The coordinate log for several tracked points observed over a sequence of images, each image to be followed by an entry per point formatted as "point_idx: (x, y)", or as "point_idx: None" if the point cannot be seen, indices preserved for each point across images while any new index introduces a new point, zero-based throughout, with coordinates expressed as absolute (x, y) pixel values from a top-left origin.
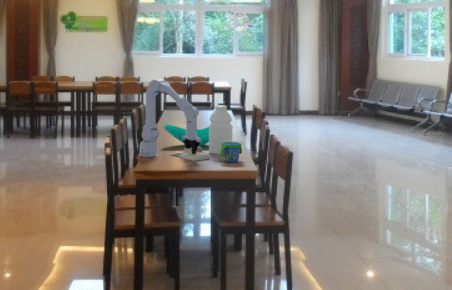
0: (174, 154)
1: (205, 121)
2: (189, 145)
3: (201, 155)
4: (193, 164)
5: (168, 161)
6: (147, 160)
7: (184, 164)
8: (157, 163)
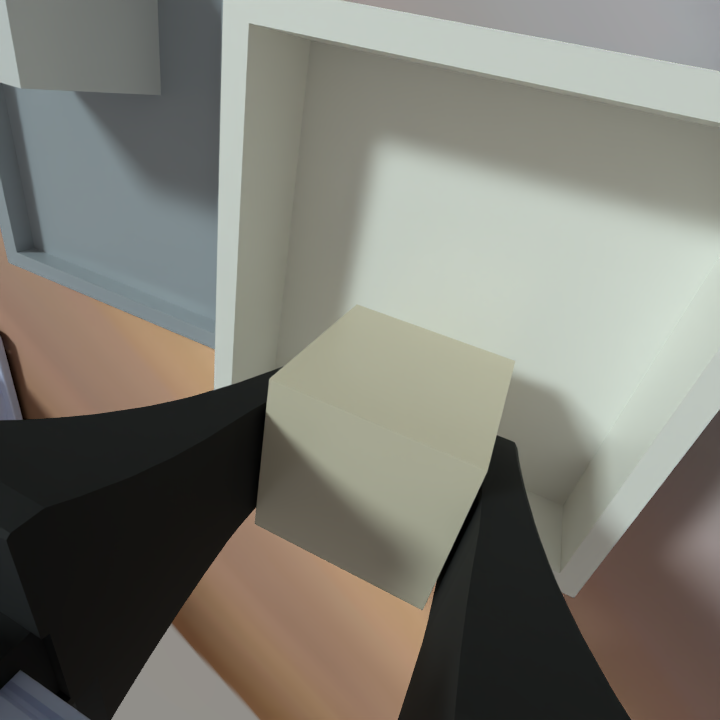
0: (18, 211)
1: None
2: (204, 499)
3: (701, 426)
4: (705, 696)
5: (289, 569)
6: None
7: None
8: (295, 668)
